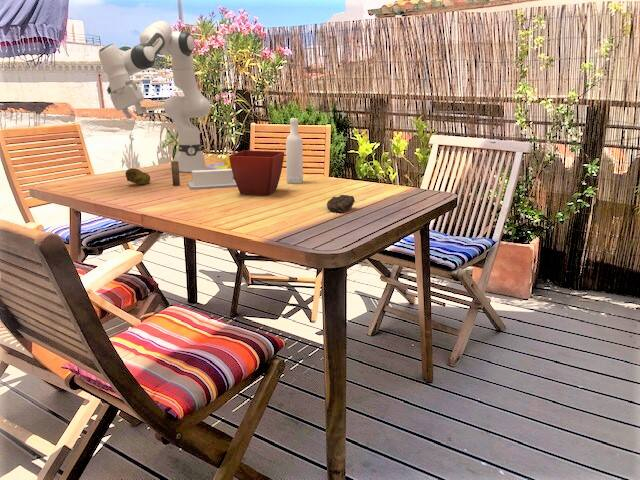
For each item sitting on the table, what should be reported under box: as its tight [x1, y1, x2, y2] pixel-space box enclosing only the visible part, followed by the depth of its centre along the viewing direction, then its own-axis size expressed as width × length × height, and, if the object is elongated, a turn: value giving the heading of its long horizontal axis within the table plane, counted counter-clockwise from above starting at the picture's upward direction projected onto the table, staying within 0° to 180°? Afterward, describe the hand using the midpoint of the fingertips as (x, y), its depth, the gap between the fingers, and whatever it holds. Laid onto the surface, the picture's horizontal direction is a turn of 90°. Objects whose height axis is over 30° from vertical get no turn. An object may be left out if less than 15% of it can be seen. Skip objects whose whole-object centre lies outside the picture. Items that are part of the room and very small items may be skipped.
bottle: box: [285, 117, 304, 185], centre depth 248 cm, size 8×8×30 cm
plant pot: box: [228, 149, 285, 196], centre depth 226 cm, size 19×19×17 cm
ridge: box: [186, 169, 238, 191], centre depth 243 cm, size 14×22×7 cm, turn 110°
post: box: [170, 160, 181, 187], centre depth 243 cm, size 3×3×11 cm
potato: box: [125, 167, 151, 186], centre depth 245 cm, size 8×13×8 cm, turn 137°
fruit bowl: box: [206, 153, 234, 179], centre depth 267 cm, size 28×27×11 cm
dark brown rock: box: [326, 194, 356, 214], centre depth 197 cm, size 12×10×5 cm
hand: (134, 116), depth 227 cm, fingers open, 8 cm apart
